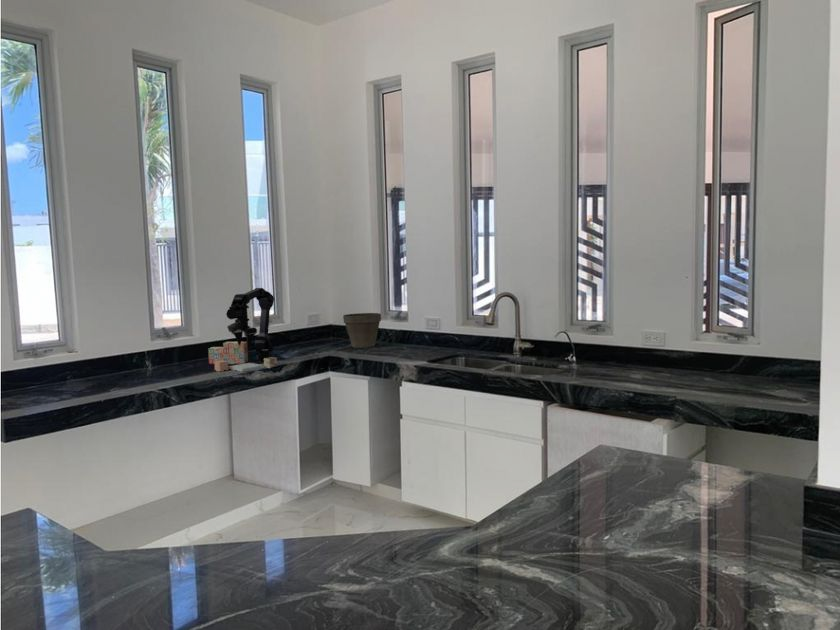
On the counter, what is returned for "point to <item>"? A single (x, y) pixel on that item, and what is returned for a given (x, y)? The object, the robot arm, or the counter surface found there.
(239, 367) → the baseplate
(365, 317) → the plant pot
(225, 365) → the brownish pink cube
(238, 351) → the stack of blocks
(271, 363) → the beech brick
